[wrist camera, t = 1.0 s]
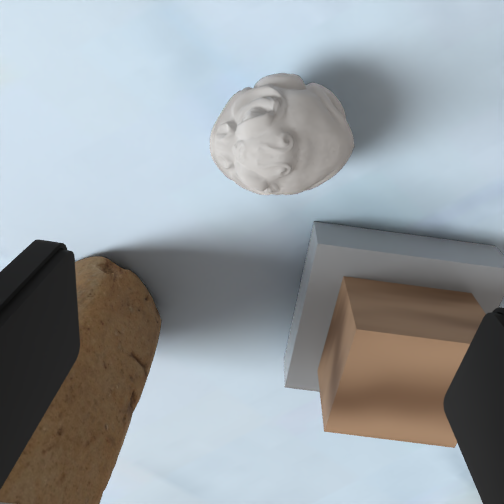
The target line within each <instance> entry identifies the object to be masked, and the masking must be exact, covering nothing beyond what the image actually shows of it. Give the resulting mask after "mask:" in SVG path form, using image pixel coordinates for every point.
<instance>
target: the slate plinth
mask: <svg viewBox="0 0 504 504" xmlns="http://www.w3.org/2000/svg"><path fill="white" fill-rule="evenodd" d="M343 276H345V277H353V278H361V279H368V280H376V281H383V282H391V283H398V284H406V285H414V286H421V287H429V288H436V289H444V290H452V291H459V292H467V293H472V294H473V296H474V297H475V299H476V300H477V302H478V303H479V305H480V306H481V308H482V309H483V311H484V312H485V314H487V313H490V312H491V313H492V311H493V310H495V309H496V308H498V307H499V305H500V303H501V301H502V299H503V297H504V255H503V254H502V253H501V252H500V251H499V249H498V248H497V247H496V246H493V245H485V244H478V243H471V242H463V241H456V240H448V239H441V238H433V237H426V236H419V235H411V234H404V233H396V232H389V231H381V230H374V229H366V228H359V227H352V226H344V225H337V224H329V223H322V222H314V223H313V227H312V232H311V237H310V241H309V246H308V250H307V255H306V260H305V264H304V269H303V273H302V278H301V283H300V287H299V292H298V296H297V301H296V306H295V310H294V315H293V319H292V324H291V329H290V333H289V338H288V342H287V347H286V352H285V356H284V377H285V387H286V388H294V389H302V390H310V391H318V392H320V389H319V380H318V367H319V363H320V360H321V356H322V352H323V349H324V345H325V342H326V338H327V334H328V331H329V327H330V323H331V320H332V316H333V312H334V309H335V305H336V301H337V298H338V294H339V291H340V287H341V283H342V280H343Z"/></svg>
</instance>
